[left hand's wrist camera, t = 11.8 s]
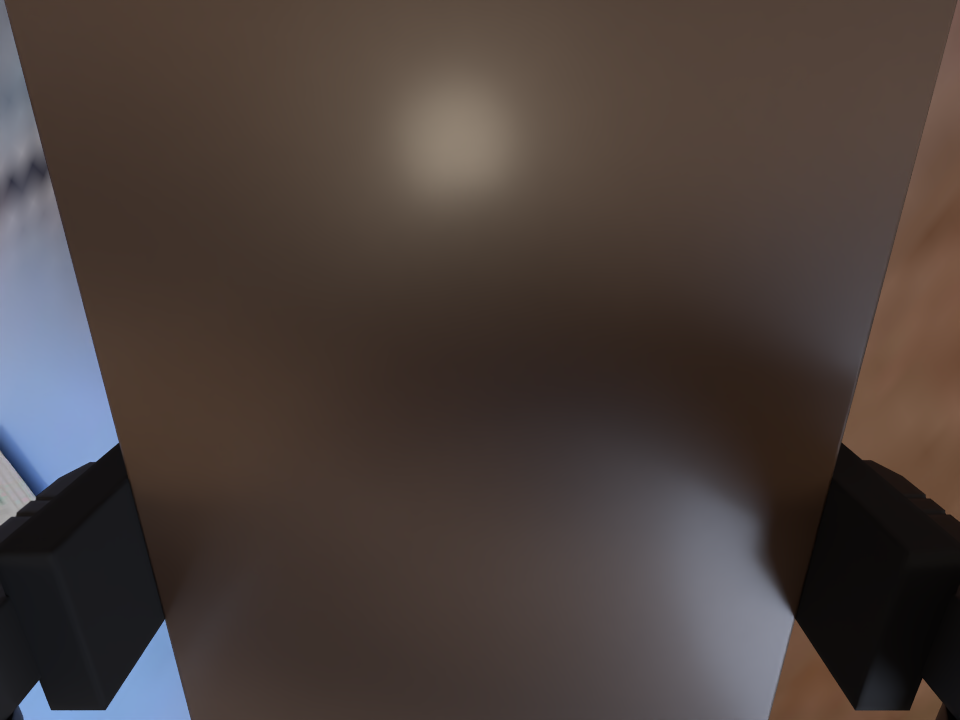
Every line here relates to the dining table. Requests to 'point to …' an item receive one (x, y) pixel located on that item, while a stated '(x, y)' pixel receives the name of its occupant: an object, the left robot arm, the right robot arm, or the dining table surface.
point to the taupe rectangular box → (480, 330)
